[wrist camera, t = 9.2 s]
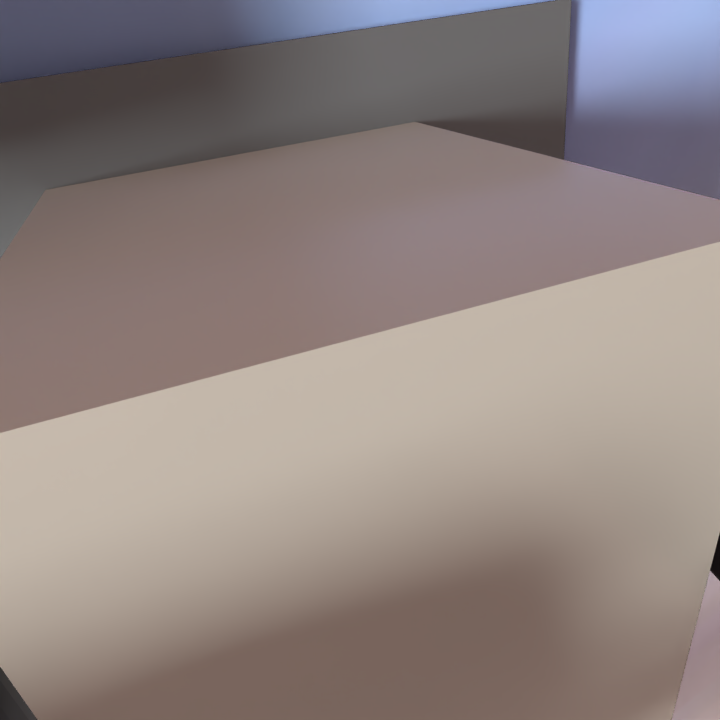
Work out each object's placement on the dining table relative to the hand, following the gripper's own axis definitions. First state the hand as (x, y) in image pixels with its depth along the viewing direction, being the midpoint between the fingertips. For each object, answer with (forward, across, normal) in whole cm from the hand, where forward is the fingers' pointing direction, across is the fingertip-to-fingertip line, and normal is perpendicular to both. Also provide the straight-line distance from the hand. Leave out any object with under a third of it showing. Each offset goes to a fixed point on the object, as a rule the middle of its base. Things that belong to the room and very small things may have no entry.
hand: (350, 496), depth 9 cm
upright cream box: (+4, 0, 0) cm, 4 cm away
